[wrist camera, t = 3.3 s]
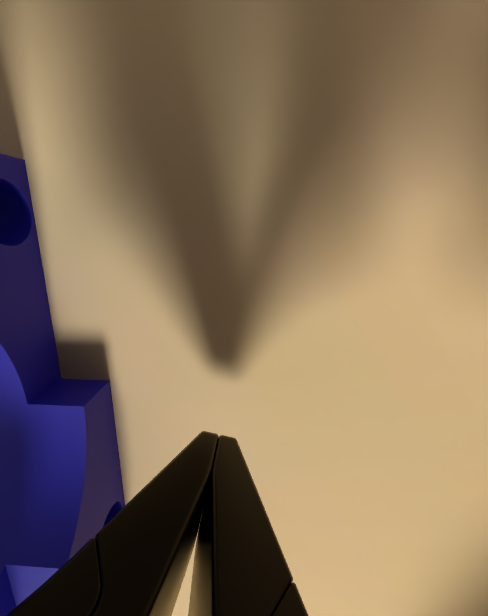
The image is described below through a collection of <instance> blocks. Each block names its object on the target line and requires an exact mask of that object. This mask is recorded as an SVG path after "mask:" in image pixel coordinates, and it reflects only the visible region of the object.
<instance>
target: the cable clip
mask: <svg viewBox="0 0 488 616" xmlns="http://www.w3.org/2000/svg"><path fill="white" fill-rule="evenodd" d="M123 507H125V501H124V493H123V485H122V477H121V469H120V460H119V452H118V444H117V436H116V428H115V419H114V411H113V403H112V395H111V387H110V381H105V380H79V379H61V374H60V368H59V362H58V356H57V350H56V344H55V338H54V332H53V326H52V320H51V314H50V308H49V303H48V297H47V291H46V285H45V279H44V273H43V267H42V261H41V255H40V249H39V243H38V237H37V231H36V225H35V219H34V213H33V207H32V201H31V195H30V189H29V183H28V178H27V172H26V166H25V160H22V159H18V158H14V157H11V156H7V155H4V154H0V616H6V615H7V614H8V613H9V612H10V611H12V610H13V609H14V608H15V607H16V606H17V605H19V604H20V603H21V602H22V601H23V600H25V599H26V598H27V597H28V596H29V595H30V594H32V593H33V592H34V591H35V590H36V589H38V588H39V587H40V586H41V585H42V584H43V583H44V582H45V581H47V580H48V579H49V578H50V577H51V576H52V575H53V574H54V573H55V572H56V571H57V570H59V569H60V568H61V567H62V566H63V565H64V564H65V563H66V562H67V561H68V560H69V559H70V558H72V557H73V556H74V555H75V554H76V553H77V552H78V551H79V550H80V549H81V548H82V547H83V546H84V545H85V544H86V543H87V542H88V541H89V540H90V539H91V538H95V535H96V534H97V533H98V532H99V531H100V530H101V529H102V528H103V527H104V526H105V525H106V524H107V523H108V522H109V521H110V520H111V519H112V518H113V517H114V516H115V515H116V514H117V513H118V512H119V511H120V510H121V509H122V508H123Z"/></svg>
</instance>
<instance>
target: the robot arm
mask: <svg viewBox="0 0 488 616" xmlns="http://www.w3.org/2000/svg"><path fill="white" fill-rule="evenodd" d="M217 442H218V443H217ZM202 511H203V512H202ZM200 520H201V521H200ZM199 524H200V525H199ZM198 529H199V530H198ZM197 533H198V536H197ZM196 537H197V542H196V549H195V557H194V567H193V576H192V585H191V595H190V604H189V613H188V616H308V614H307V611H306V609H305V606H304V604H303V602H302V599H301V597H300V594H299V592H298V589H297V587H296V584H295V583H292V581H293V577H292V575H291V572H290V570H289V567H288V565H287V563H286V560H285V558H284V555H283V553H282V550H281V548H280V545H279V543H278V541H277V538H276V536H275V533H274V531H273V528H272V526H271V523H270V521H269V518H268V516H267V514H266V511H265V509H264V506H263V504H262V501H261V499H260V496H259V494H258V491H257V489H256V487H255V484H254V482H253V479H252V477H251V474H250V472H249V469H248V467H247V464H246V462H245V460H244V457H243V455H242V452H241V450H240V447H239V445H238V442H237V440H236V439H235V438H233V437H228V436H224V435H221V436H219V438H218V435H217V434H215V433H210V432H206V431H203V432H201V433H200V434H199V435H198V436H197V437H196V438H195V439H194V440H193V441H192V442H191V443H190V444H189V445H188V446H187V447H185V448H184V449H183V450H182V451H181V452H180V453H179V454H178V455H177V456H176V457H175V458H174V459H173V460H172V461H171V462H170V463H169V464H168V465H167V466H166V467H165V468H164V469H163V470H162V471H161V472H160V473H159V474H158V475H157V476H156V477H154V478H153V479H152V480H151V481H150V482H149V483H148V484H147V485H146V486H145V487H144V488H143V489H142V490H141V491H140V492H139V493H138V494H137V495H136V496H135V497H134V498H133V499H132V500H131V501H130V502H129V503H128V504H127V505H126V506H125V507H123V508H122V509H121V510H120V511H119V512H118V513H117V514H116V515H115V516H114V517H113V518H112V519H111V520H110V521H109V522H108V523H107V524H106V525H105V526H104V527H103V528H102V529H101V530H100V531H99V532H98V533H97V534H96V535H95V538H91V539H90V540H89V541H88V542H87V543H86V544H85V545H84V546H83V547H82V548H81V549H80V550H79V551H78V552H77V553H76V554H75V555H74V556H73V557H72V558H70V559H69V560H68V561H67V562H66V563H65V564H64V565H63V566H62V567H61V568H60V569H59V570H57V571H56V572H55V573H54V574H53V575H52V576H51V577H50V578H49V579H48V580H47V581H45V582H44V583H43V584H42V585H41V586H40V587H39V588H38V589H36V590H35V591H34V592H33V593H32V594H30V595H29V596H28V597H27V598H26V599H25V600H23V601H22V602H21V603H20V604H19V605H17V606H16V607H15V608H14V609H13V610H12V611H10V612H9V613H8V614H7V615H6V616H171V615H172V612H173V609H174V606H175V603H176V600H177V597H178V594H179V591H180V588H181V584H182V581H183V578H184V575H185V572H186V569H187V566H188V563H189V560H190V557H191V554H192V551H193V548H194V544H195V541H196Z"/></svg>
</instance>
